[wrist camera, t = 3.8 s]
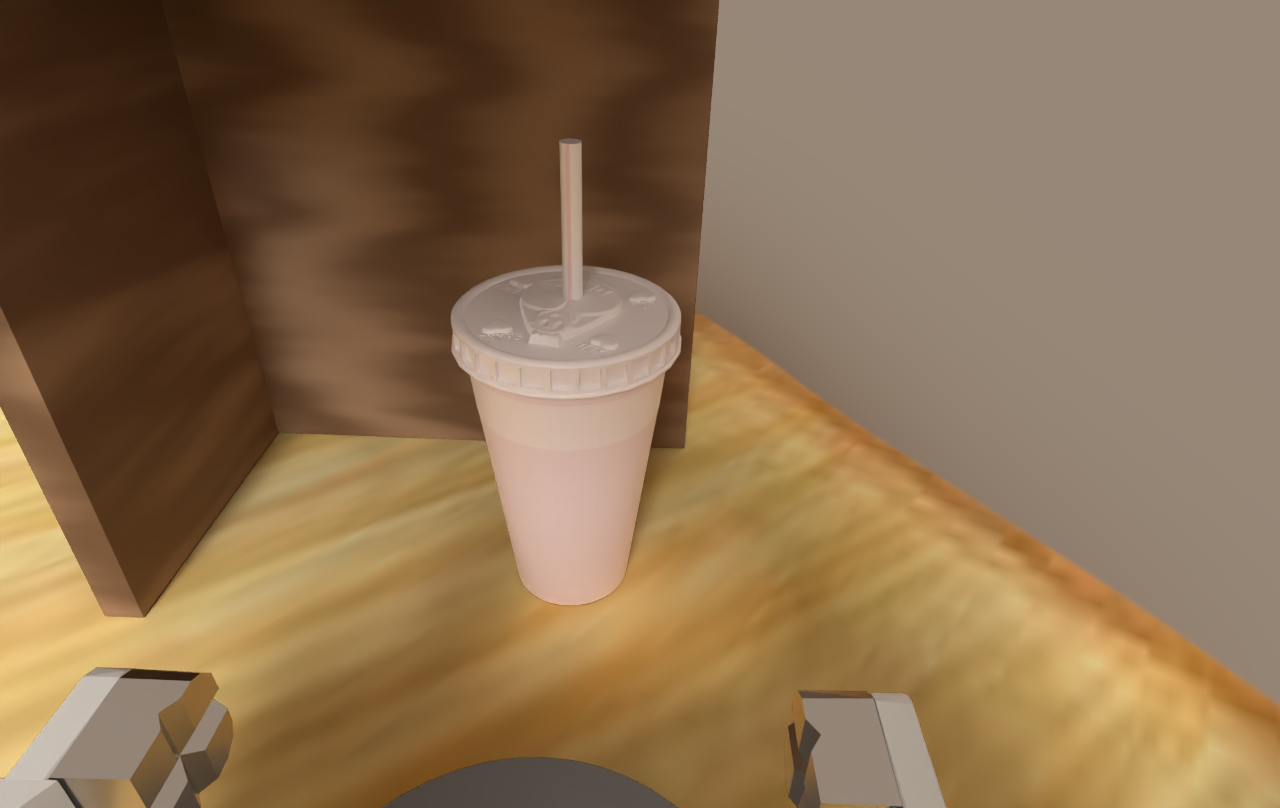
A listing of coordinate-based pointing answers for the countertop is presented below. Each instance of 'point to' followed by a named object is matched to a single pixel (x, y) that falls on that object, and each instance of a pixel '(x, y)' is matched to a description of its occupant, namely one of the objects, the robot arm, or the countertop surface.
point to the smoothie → (568, 403)
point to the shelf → (306, 227)
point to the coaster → (531, 787)
